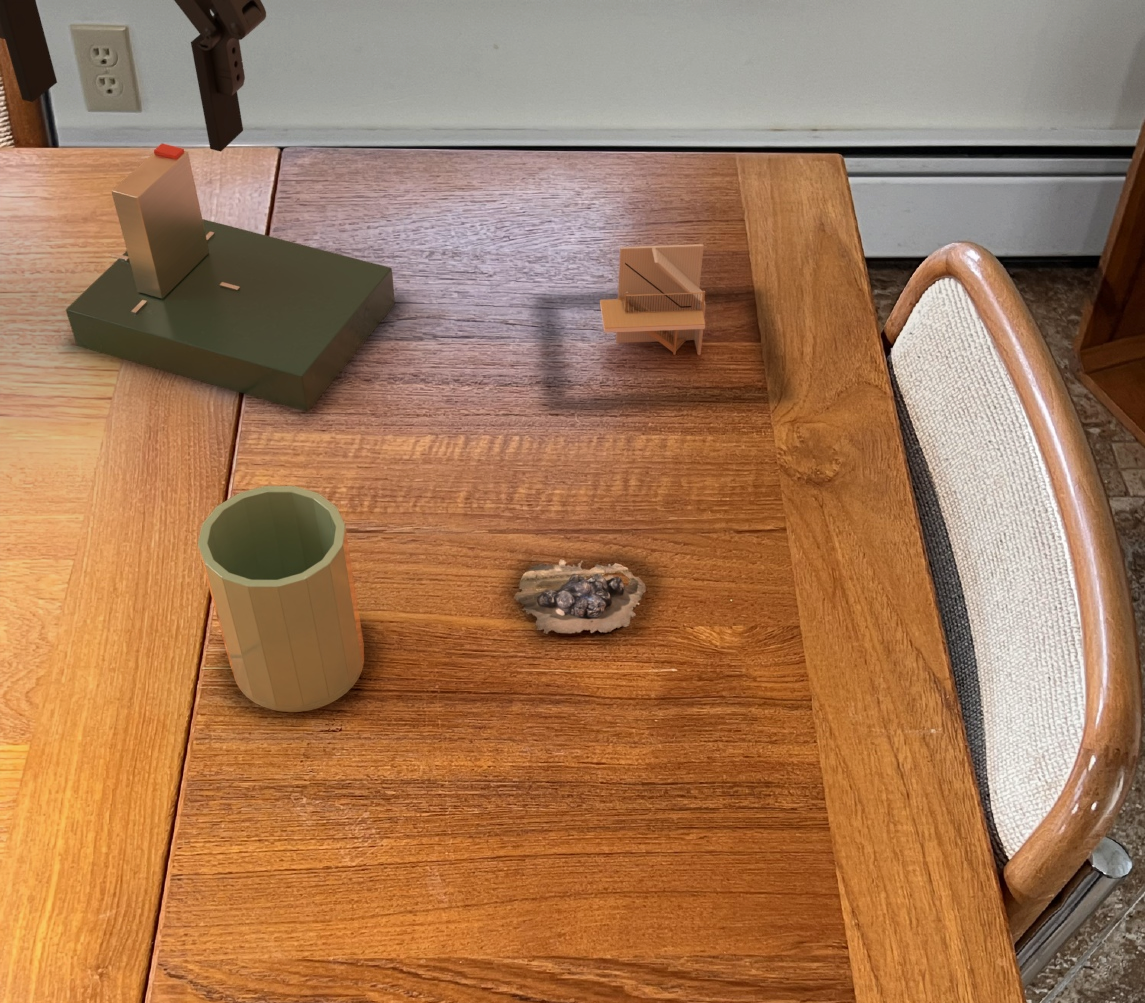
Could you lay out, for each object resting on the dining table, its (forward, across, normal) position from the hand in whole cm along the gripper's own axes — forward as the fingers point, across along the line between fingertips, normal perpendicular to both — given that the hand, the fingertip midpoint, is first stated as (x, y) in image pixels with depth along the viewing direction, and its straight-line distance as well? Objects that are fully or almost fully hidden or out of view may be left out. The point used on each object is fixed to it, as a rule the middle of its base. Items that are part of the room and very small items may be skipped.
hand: (132, 115), depth 89 cm
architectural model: (+14, -33, -9) cm, 37 cm away
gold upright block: (+11, 0, 0) cm, 11 cm away
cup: (+14, -24, +26) cm, 38 cm away
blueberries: (+14, -37, +15) cm, 42 cm away
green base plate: (+14, -5, 0) cm, 15 cm away
